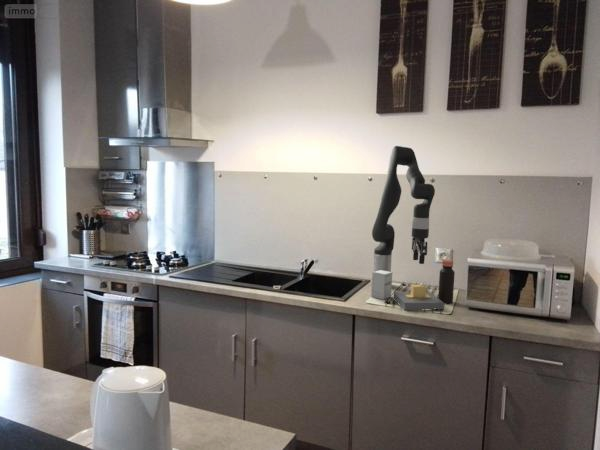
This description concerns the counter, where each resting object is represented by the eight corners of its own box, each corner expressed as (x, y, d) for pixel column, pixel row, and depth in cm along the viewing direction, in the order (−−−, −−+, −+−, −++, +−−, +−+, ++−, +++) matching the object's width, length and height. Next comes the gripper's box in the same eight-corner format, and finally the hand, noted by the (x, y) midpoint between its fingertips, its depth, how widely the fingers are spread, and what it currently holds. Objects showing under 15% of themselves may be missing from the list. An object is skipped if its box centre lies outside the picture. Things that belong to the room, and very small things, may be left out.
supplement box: (383, 299, 226) (384, 274, 225) (370, 296, 231) (371, 271, 230) (391, 297, 232) (392, 272, 230) (378, 294, 237) (380, 269, 235)
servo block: (404, 303, 221) (405, 282, 220) (427, 303, 222) (428, 282, 221) (407, 305, 217) (408, 284, 216) (430, 305, 218) (431, 284, 217)
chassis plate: (393, 299, 228) (393, 292, 227) (429, 299, 229) (429, 292, 229) (404, 310, 210) (404, 302, 210) (443, 310, 212) (443, 302, 211)
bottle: (443, 304, 221) (445, 262, 218) (435, 300, 227) (437, 259, 225) (455, 303, 222) (458, 262, 220) (447, 299, 229) (450, 259, 227)
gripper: (434, 229, 209) (431, 265, 211) (423, 225, 223) (421, 258, 225) (417, 229, 208) (415, 265, 210) (407, 225, 222) (405, 258, 224)
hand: (418, 261), depth 218 cm, fingers open, 8 cm apart
